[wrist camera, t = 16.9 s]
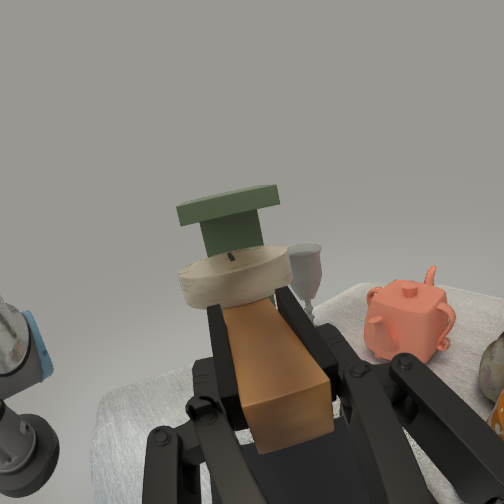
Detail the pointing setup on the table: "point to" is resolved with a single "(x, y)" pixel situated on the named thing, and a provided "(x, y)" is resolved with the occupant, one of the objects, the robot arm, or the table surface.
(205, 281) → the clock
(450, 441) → the robot arm
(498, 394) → the fruit
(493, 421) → the canister
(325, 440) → the black mat
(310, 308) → the chalice
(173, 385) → the table surface
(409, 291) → the teapot
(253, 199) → the post
